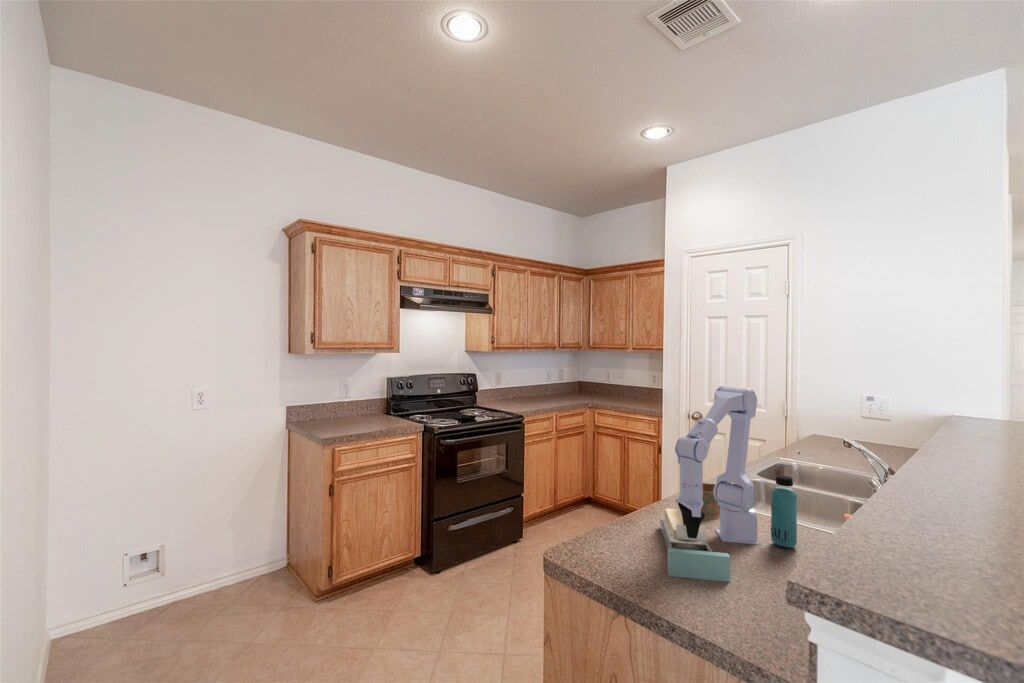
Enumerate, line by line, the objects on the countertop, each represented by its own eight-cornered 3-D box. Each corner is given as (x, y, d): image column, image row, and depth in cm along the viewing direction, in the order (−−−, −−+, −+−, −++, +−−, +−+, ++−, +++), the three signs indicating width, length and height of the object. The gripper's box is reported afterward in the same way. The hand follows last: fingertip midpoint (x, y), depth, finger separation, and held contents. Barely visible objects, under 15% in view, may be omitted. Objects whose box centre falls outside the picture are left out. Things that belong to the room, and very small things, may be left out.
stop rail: (727, 577, 110) (727, 553, 110) (730, 582, 108) (730, 557, 108) (667, 571, 113) (667, 547, 113) (668, 576, 111) (669, 551, 111)
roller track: (696, 531, 138) (696, 517, 138) (719, 576, 111) (719, 559, 111) (659, 528, 140) (660, 514, 140) (674, 571, 113) (674, 555, 113)
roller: (703, 538, 121) (703, 524, 121) (706, 544, 118) (706, 530, 118) (675, 535, 122) (675, 522, 122) (677, 541, 119) (678, 527, 119)
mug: (747, 525, 143) (747, 486, 143) (687, 518, 148) (687, 481, 148) (740, 511, 154) (740, 476, 154) (684, 505, 159) (685, 471, 159)
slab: (692, 518, 137) (692, 510, 137) (704, 541, 121) (704, 532, 121) (664, 516, 139) (665, 508, 138) (673, 538, 123) (673, 529, 123)
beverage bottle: (794, 544, 129) (794, 474, 129) (800, 554, 123) (801, 481, 123) (768, 541, 131) (768, 472, 131) (773, 551, 125) (773, 478, 125)
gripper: (670, 474, 128) (670, 522, 128) (680, 490, 114) (679, 544, 114) (697, 475, 127) (696, 524, 127) (709, 492, 112) (709, 547, 112)
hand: (690, 534), depth 120 cm, fingers closed on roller, 3 cm apart
